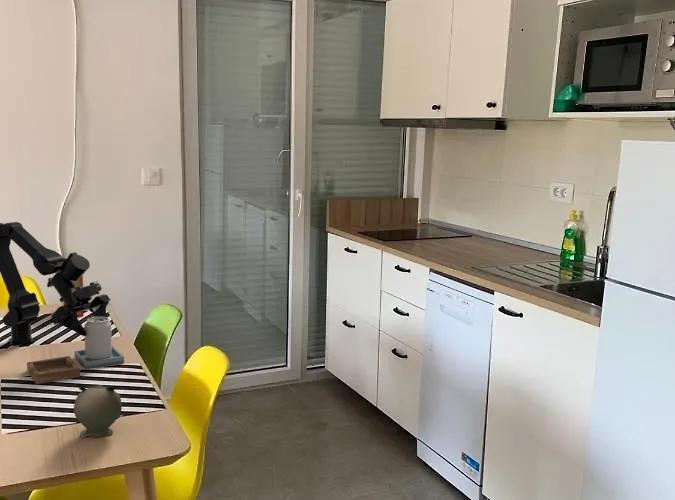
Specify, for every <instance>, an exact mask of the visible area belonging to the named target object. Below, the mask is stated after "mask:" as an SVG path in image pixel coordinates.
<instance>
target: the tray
mask: <svg viewBox="0 0 675 500" xmlns="http://www.w3.org/2000/svg"><path fill="white" fill-rule="evenodd" d="M74 359H75V360H76V361H77V362H78V363H79V364H80V366H82V367H83V369H84V370H89V369H95V368H100V367H107V366H113V365H119V364H124V363H125V356H124V355H123V354H122V353H121V352H120V351H119V350H118V349H116V348H115V347H114V345H112V355H111V356H110V357H109V358H106V359H100V360H94V361H92V360H89V359H88V358H87V357H86V356H85V349H79V350H74Z"/></svg>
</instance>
